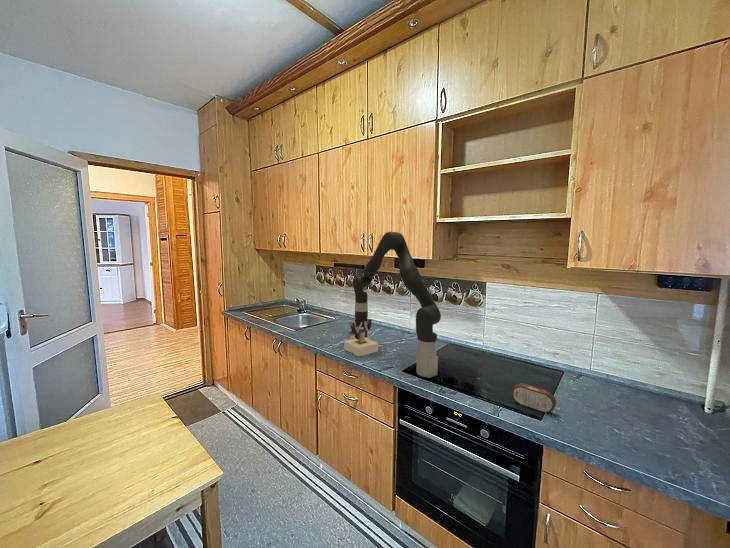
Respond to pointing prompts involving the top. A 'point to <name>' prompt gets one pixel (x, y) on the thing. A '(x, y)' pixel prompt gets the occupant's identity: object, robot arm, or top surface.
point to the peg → (361, 336)
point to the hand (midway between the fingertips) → (361, 337)
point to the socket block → (361, 347)
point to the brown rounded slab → (534, 398)
